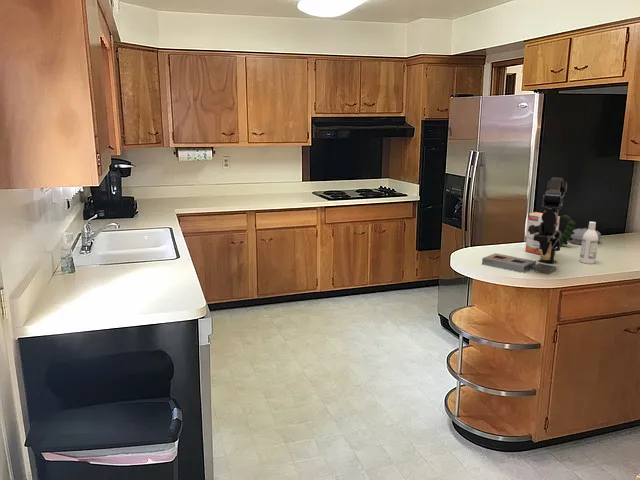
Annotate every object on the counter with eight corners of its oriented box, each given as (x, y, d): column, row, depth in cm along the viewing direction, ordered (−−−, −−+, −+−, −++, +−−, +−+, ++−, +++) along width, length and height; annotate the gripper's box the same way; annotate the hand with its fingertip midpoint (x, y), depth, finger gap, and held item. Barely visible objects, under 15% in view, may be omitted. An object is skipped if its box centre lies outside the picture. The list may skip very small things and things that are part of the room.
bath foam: (596, 262, 256) (602, 222, 252) (592, 264, 251) (598, 224, 247) (581, 259, 261) (587, 220, 256) (577, 262, 256) (582, 222, 252)
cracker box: (524, 251, 275) (528, 212, 271) (531, 250, 279) (535, 211, 274) (548, 257, 264) (553, 216, 260) (555, 255, 267) (560, 215, 263)
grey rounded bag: (576, 238, 313) (563, 242, 299) (578, 224, 311) (564, 228, 298) (603, 242, 302) (590, 247, 289) (605, 228, 300) (592, 232, 287)
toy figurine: (573, 250, 289) (535, 237, 309) (581, 217, 283) (541, 206, 303) (563, 251, 284) (525, 238, 304) (570, 218, 278) (531, 207, 298)
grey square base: (538, 267, 245) (539, 263, 244) (556, 270, 239) (556, 266, 239) (531, 270, 239) (532, 266, 239) (549, 274, 234) (550, 269, 233)
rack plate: (495, 259, 258) (495, 252, 257) (535, 267, 245) (536, 260, 244) (481, 264, 248) (482, 257, 247) (523, 272, 235) (524, 266, 234)
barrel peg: (542, 257, 241) (544, 242, 239) (551, 259, 238) (553, 244, 236) (539, 258, 238) (540, 244, 236) (548, 260, 235) (549, 245, 234)
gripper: (539, 215, 246) (536, 248, 249) (523, 220, 233) (520, 254, 236) (564, 219, 239) (560, 252, 242) (549, 224, 225) (545, 259, 229)
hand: (545, 254), depth 237 cm, fingers closed on barrel peg, 4 cm apart
